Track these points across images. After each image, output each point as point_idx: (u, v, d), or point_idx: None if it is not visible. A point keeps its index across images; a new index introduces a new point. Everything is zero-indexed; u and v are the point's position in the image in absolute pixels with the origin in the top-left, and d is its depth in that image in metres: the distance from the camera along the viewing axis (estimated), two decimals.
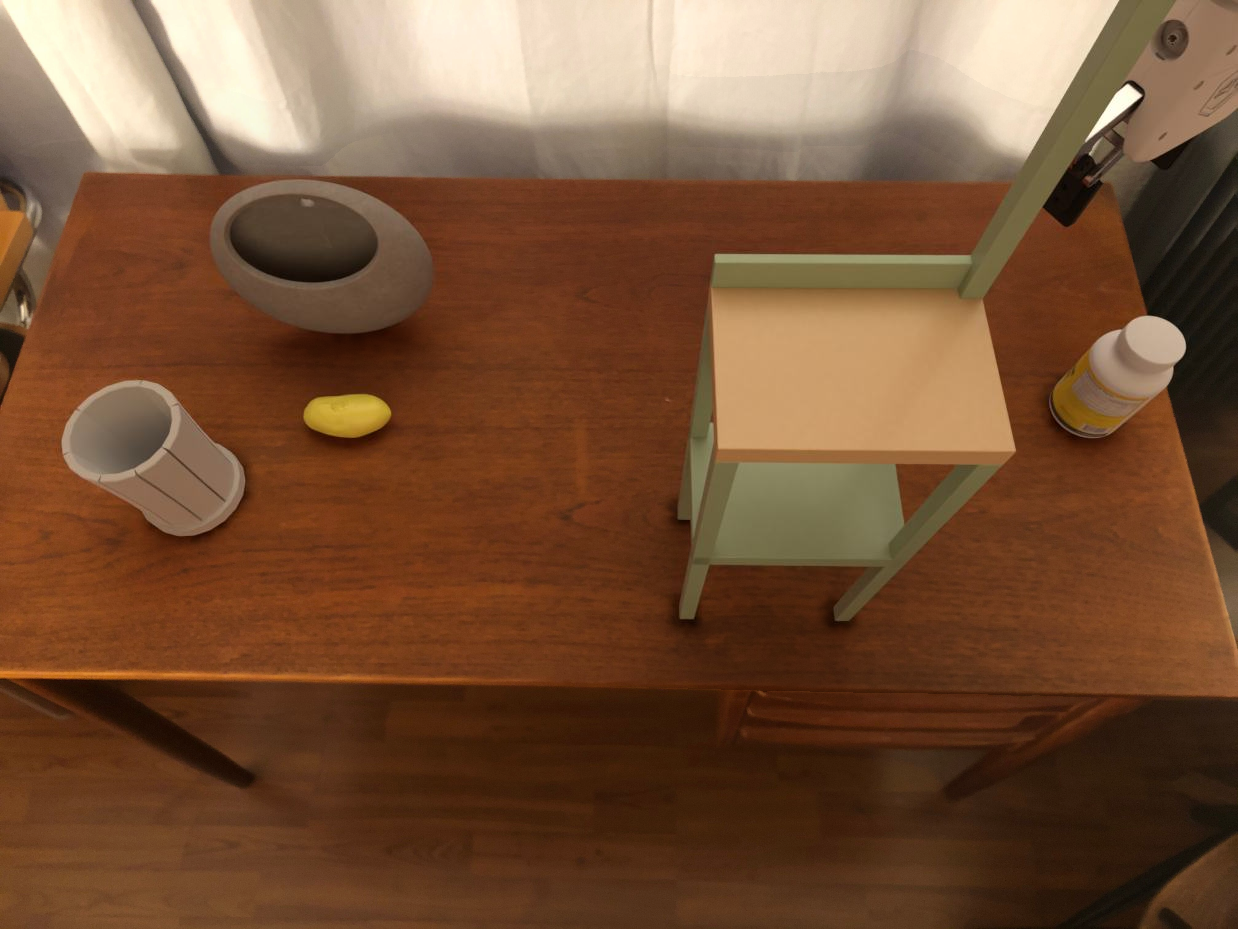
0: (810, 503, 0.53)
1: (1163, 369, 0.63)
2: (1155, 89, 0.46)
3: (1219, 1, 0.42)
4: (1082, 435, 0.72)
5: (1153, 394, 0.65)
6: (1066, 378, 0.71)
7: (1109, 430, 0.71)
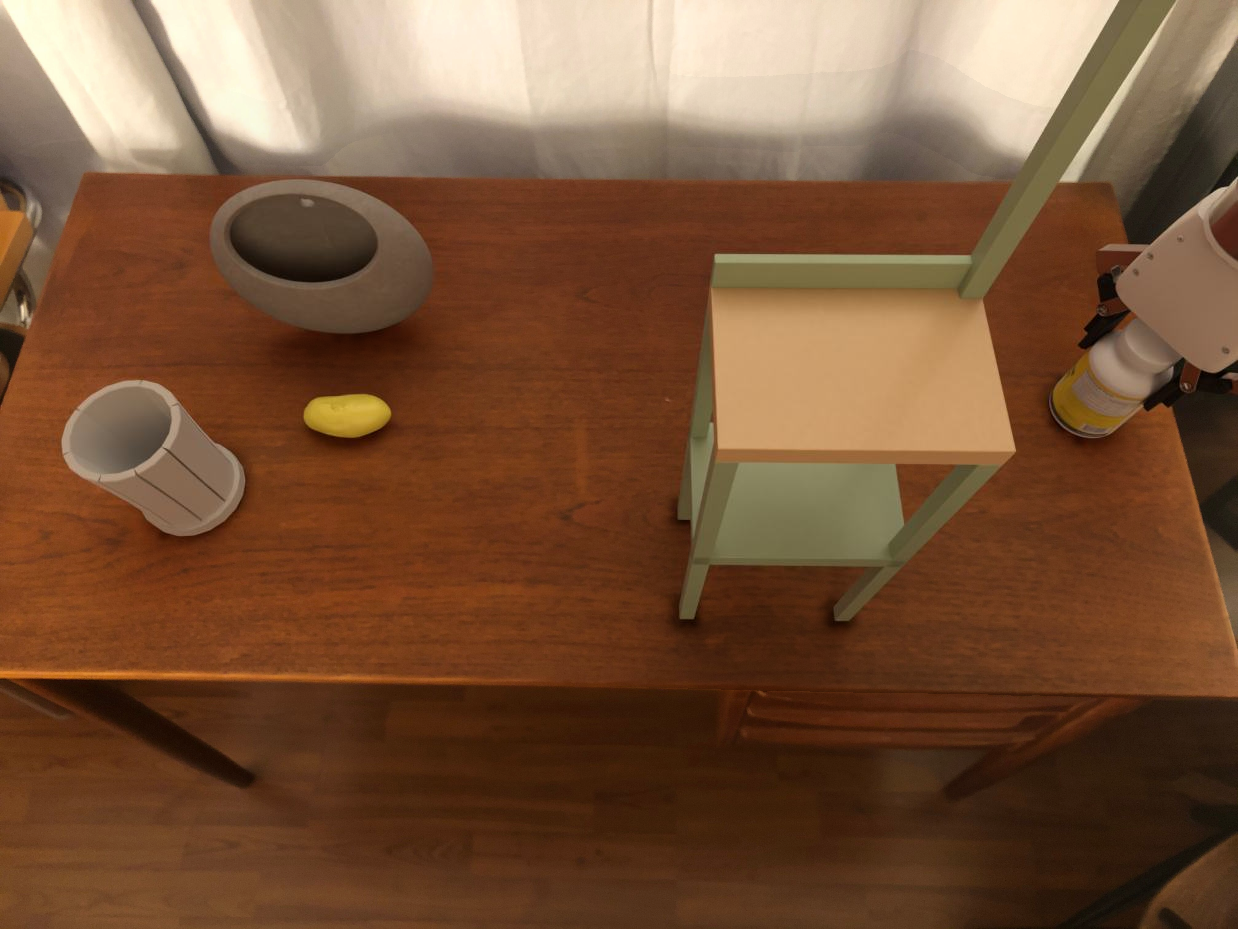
0: (810, 503, 0.53)
1: (1163, 369, 0.63)
2: None
3: None
4: (1082, 435, 0.72)
5: (1153, 394, 0.65)
6: (1066, 378, 0.71)
7: (1109, 430, 0.71)
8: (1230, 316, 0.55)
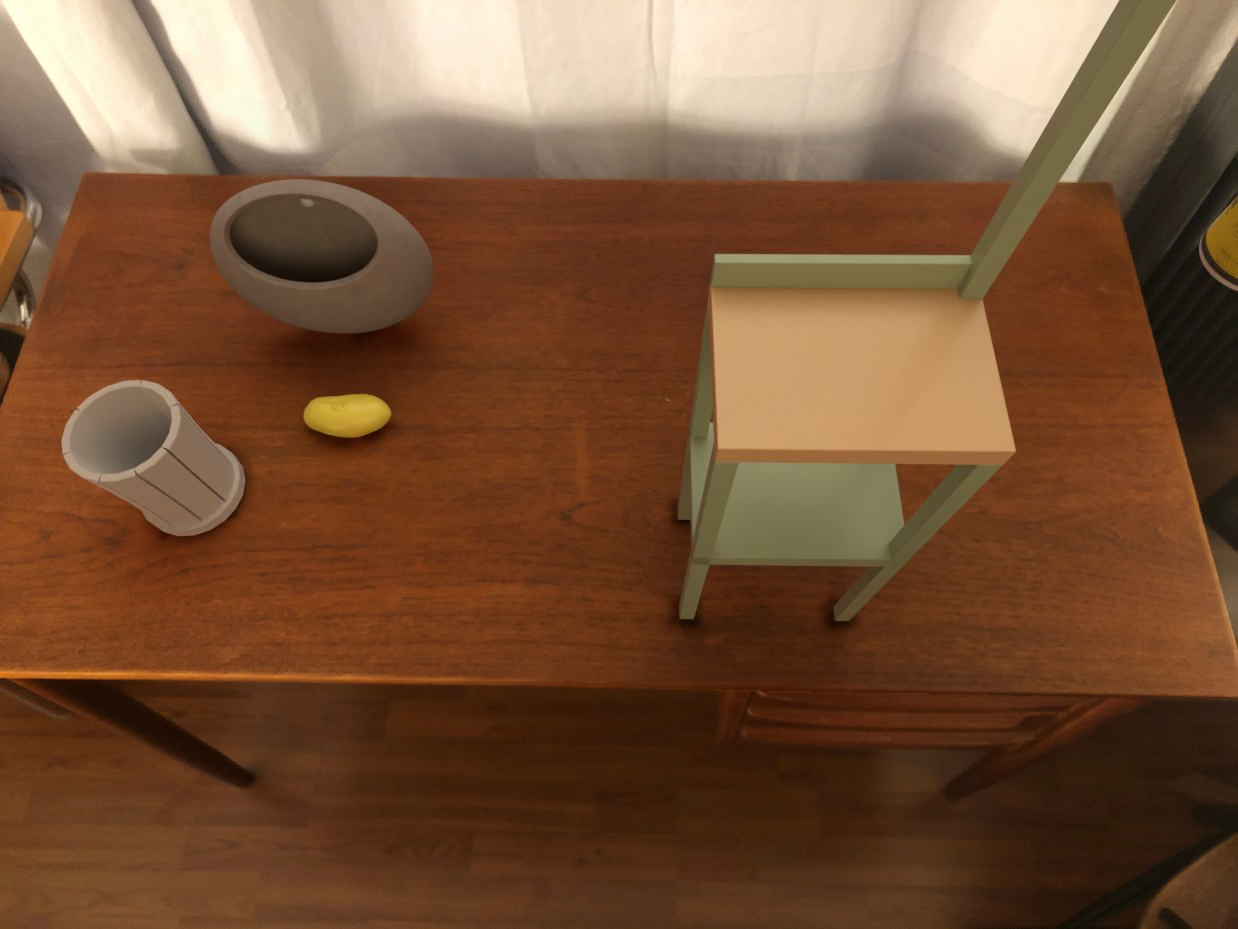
0: (810, 503, 0.53)
1: None
2: None
3: None
4: None
5: None
6: (1231, 209, 0.52)
7: None
8: None
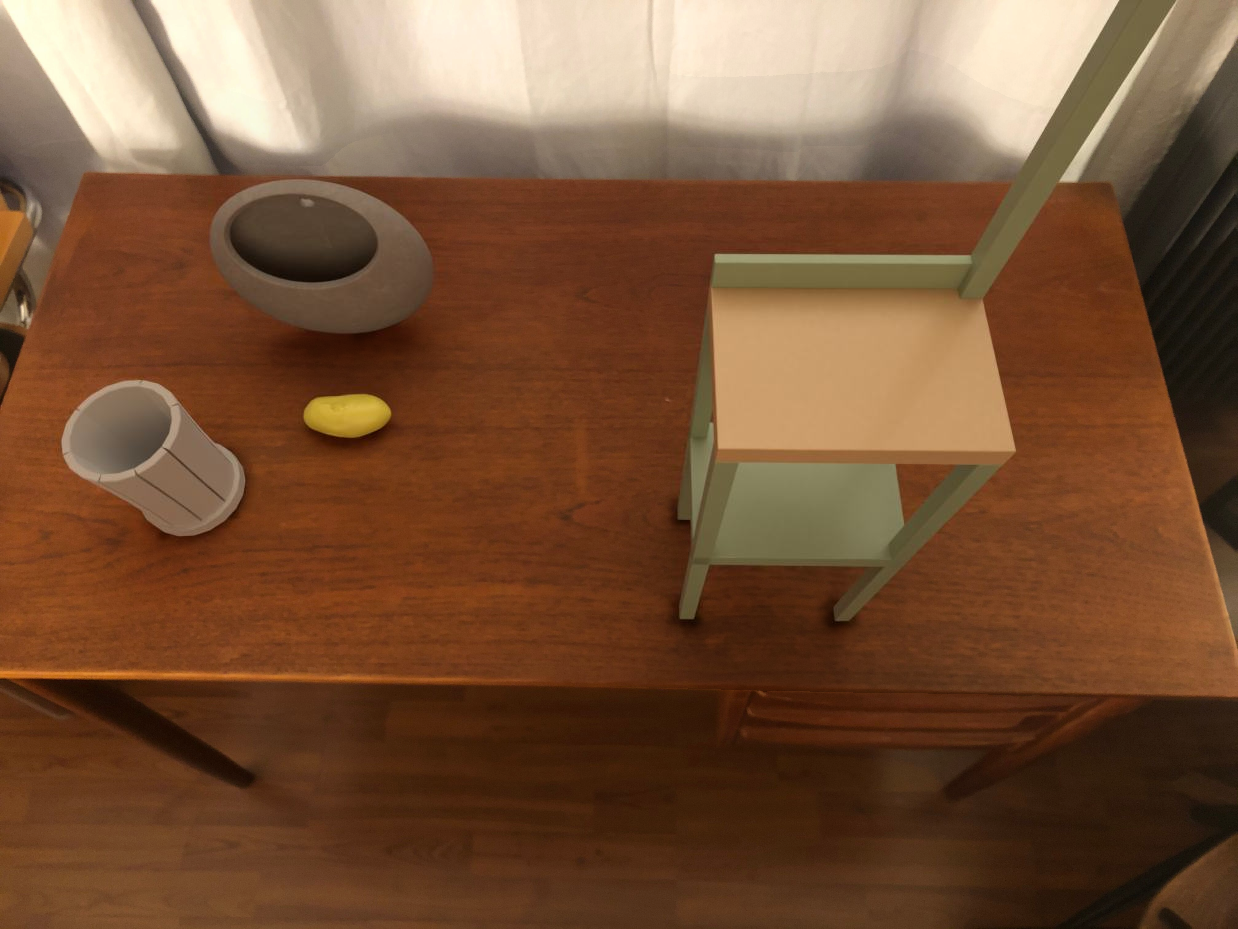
0: (810, 503, 0.53)
1: None
2: None
3: None
4: None
5: None
6: None
7: None
8: None
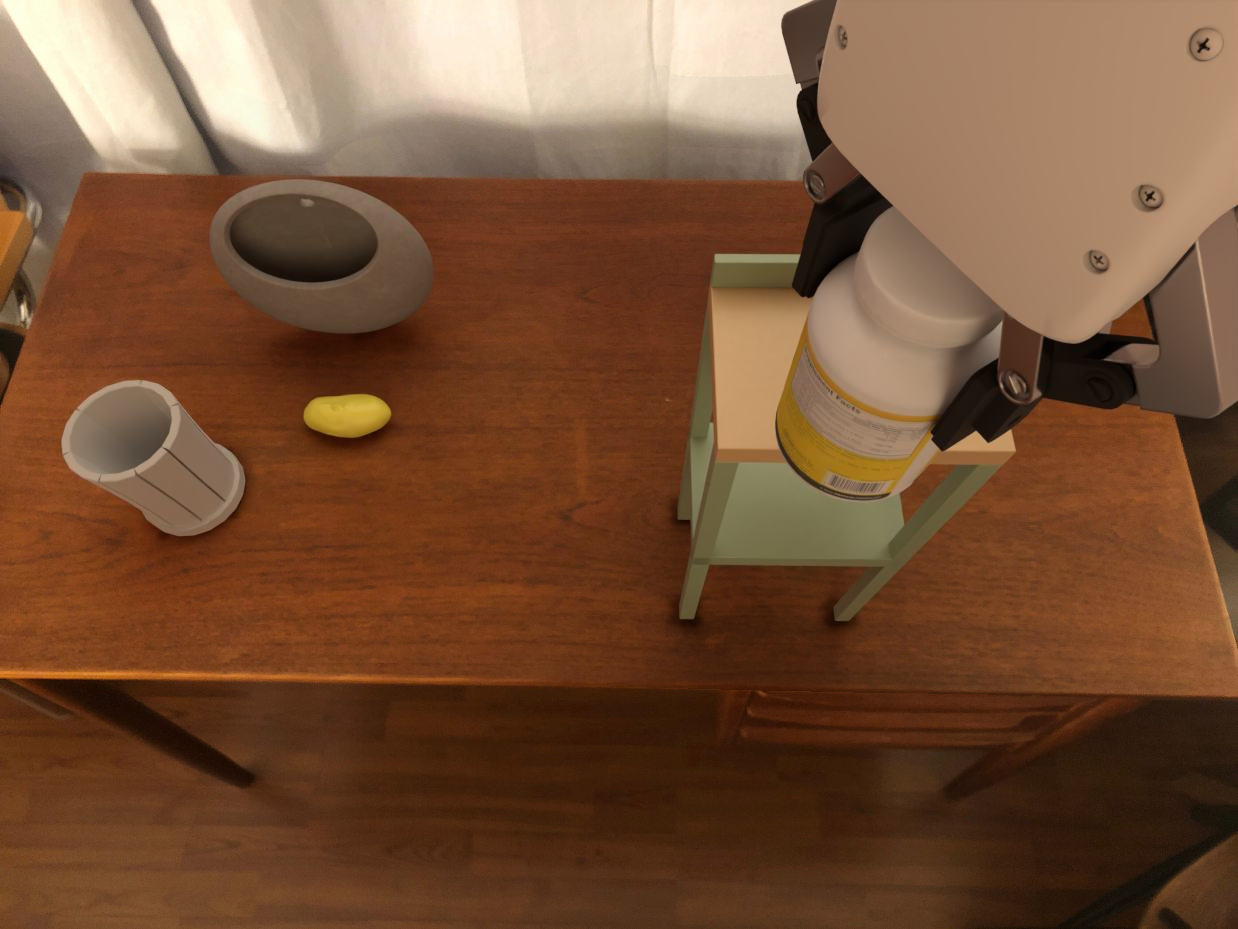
0: (810, 503, 0.53)
1: (964, 338, 0.23)
2: None
3: None
4: (836, 497, 0.32)
5: None
6: None
7: (889, 487, 0.31)
8: (1099, 123, 0.15)
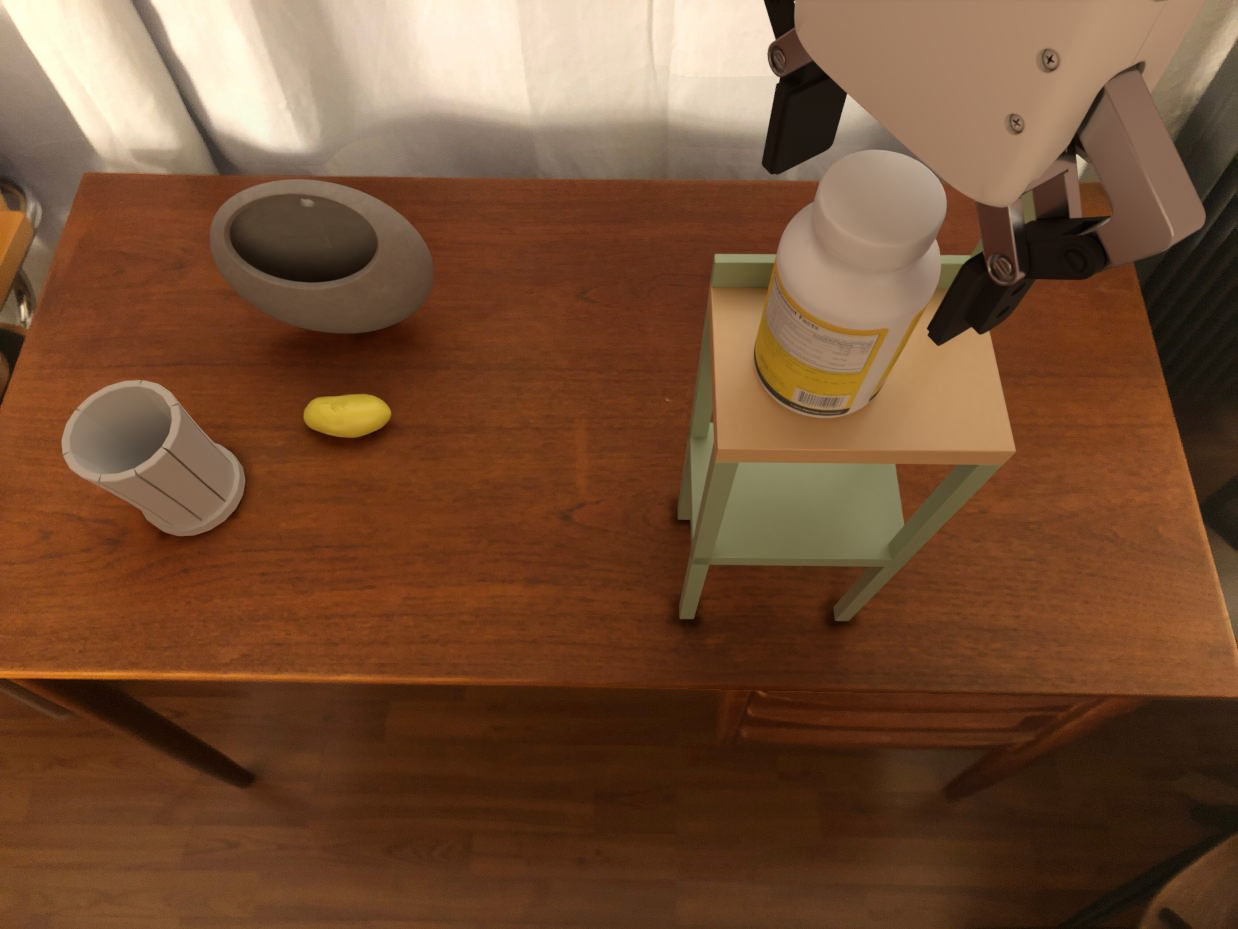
0: (810, 503, 0.53)
1: (897, 260, 0.29)
2: (1167, 37, 0.19)
3: None
4: (804, 413, 0.38)
5: (894, 321, 0.31)
6: None
7: (848, 402, 0.36)
8: (1008, 0, 0.18)
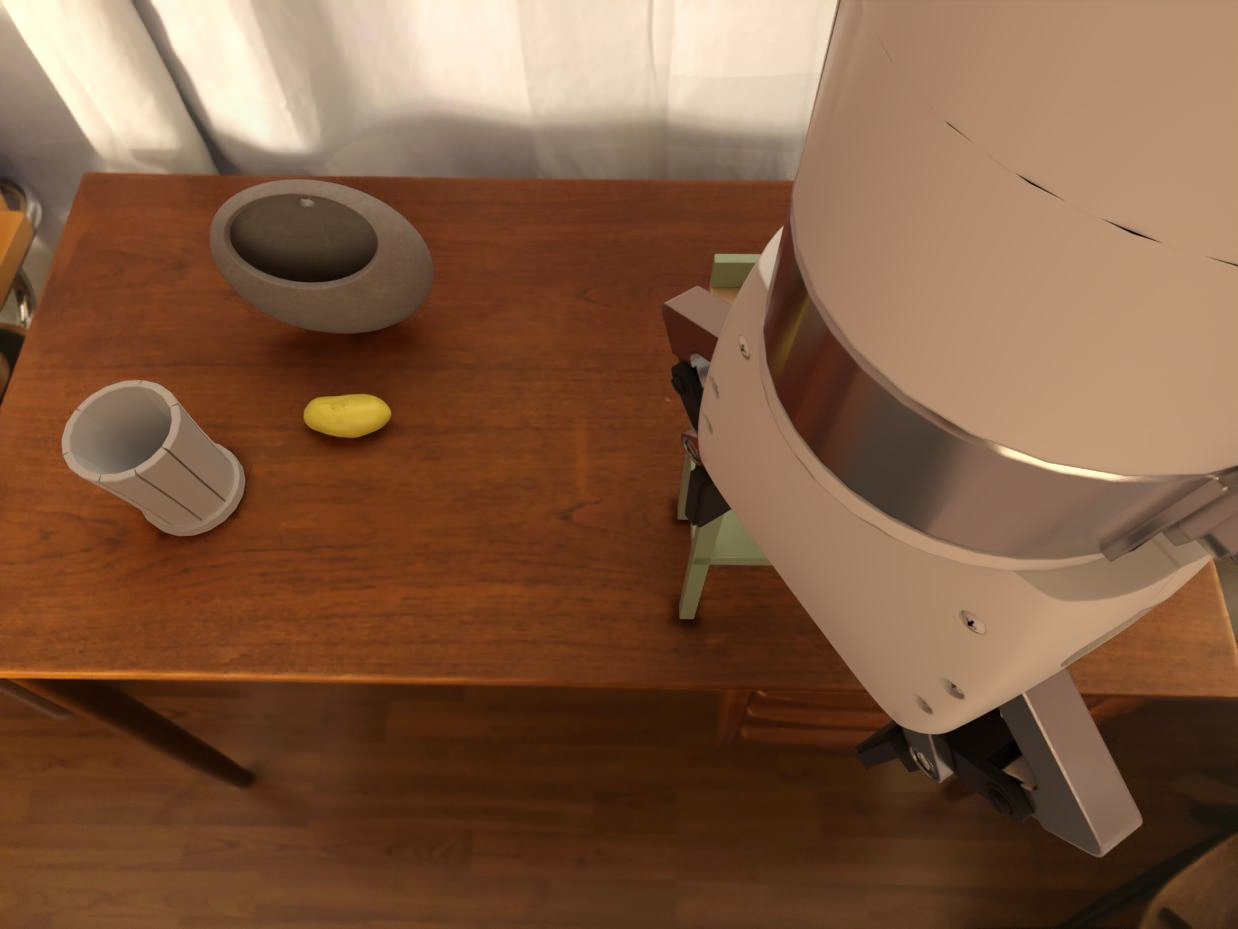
0: None
1: None
2: None
3: None
4: None
5: None
6: None
7: None
8: (904, 623, 0.16)
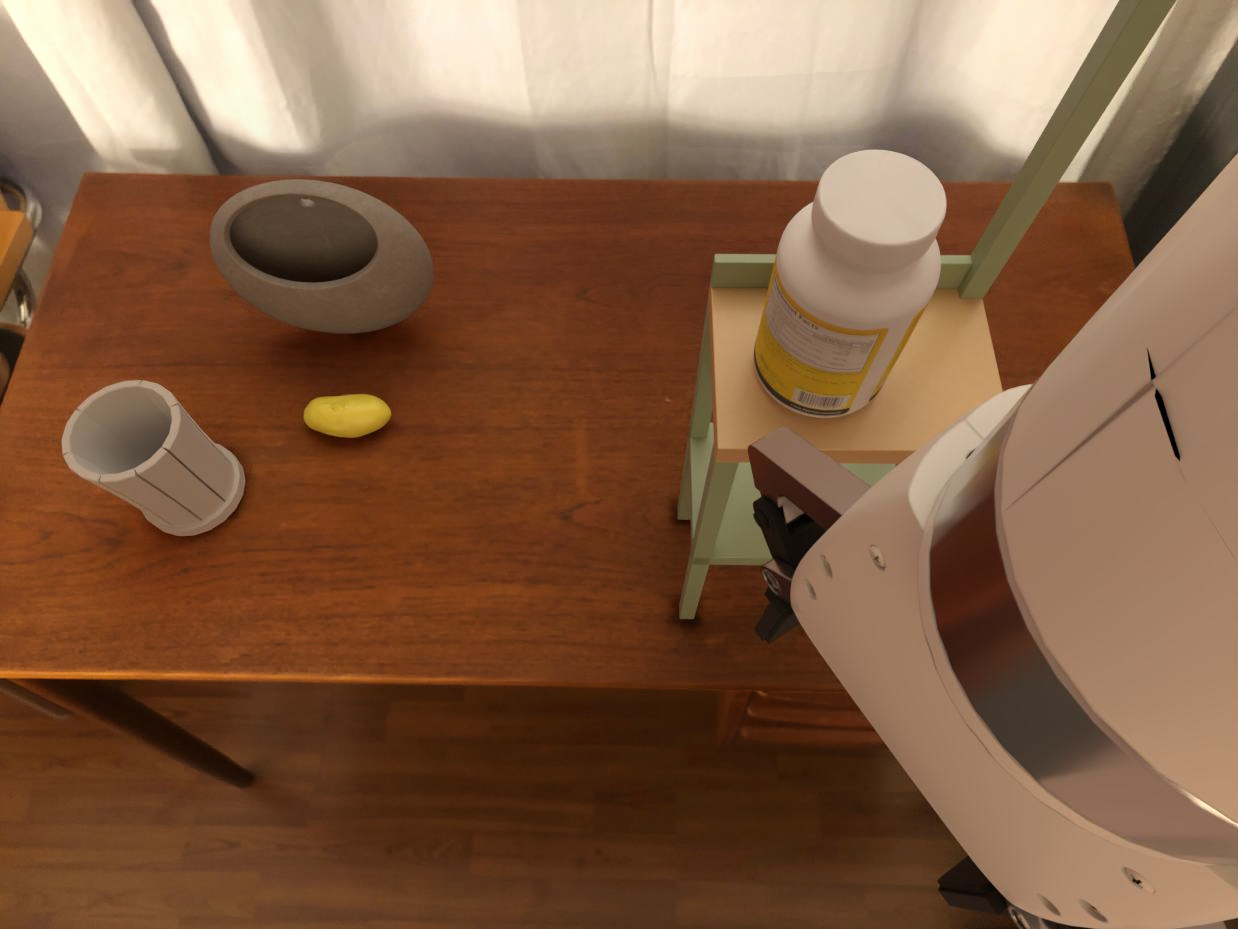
0: None
1: (897, 260, 0.29)
2: None
3: None
4: (804, 413, 0.38)
5: (894, 321, 0.31)
6: None
7: (848, 402, 0.36)
8: (1046, 846, 0.15)
